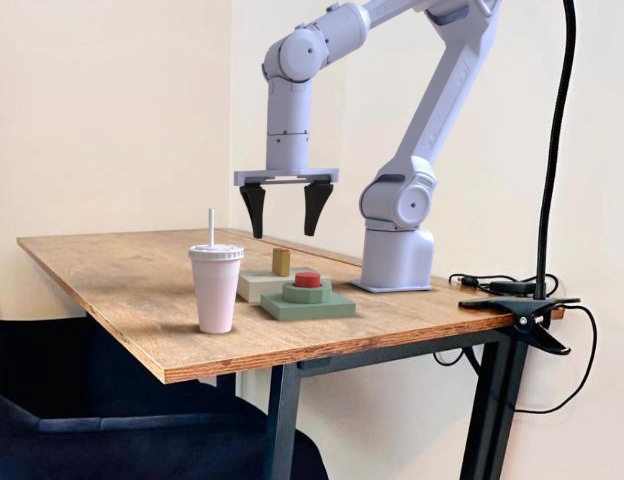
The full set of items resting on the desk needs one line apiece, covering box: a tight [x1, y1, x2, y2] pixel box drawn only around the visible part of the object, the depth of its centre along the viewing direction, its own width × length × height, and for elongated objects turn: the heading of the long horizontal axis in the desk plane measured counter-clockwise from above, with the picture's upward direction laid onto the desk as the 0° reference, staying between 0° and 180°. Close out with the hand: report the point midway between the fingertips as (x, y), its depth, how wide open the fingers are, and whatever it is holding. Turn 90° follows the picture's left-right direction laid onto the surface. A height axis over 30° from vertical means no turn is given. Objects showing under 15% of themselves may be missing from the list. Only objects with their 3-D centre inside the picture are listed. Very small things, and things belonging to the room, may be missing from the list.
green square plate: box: [259, 281, 357, 321], centre depth 72 cm, size 10×8×4 cm
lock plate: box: [236, 266, 332, 303], centre depth 82 cm, size 12×9×3 cm
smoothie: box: [187, 208, 245, 334], centre depth 64 cm, size 6×6×14 cm
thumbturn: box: [271, 247, 291, 276], centre depth 81 cm, size 4×1×4 cm, turn 7°
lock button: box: [295, 272, 321, 288], centre depth 72 cm, size 3×3×2 cm
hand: (283, 236), depth 80 cm, fingers open, 7 cm apart
